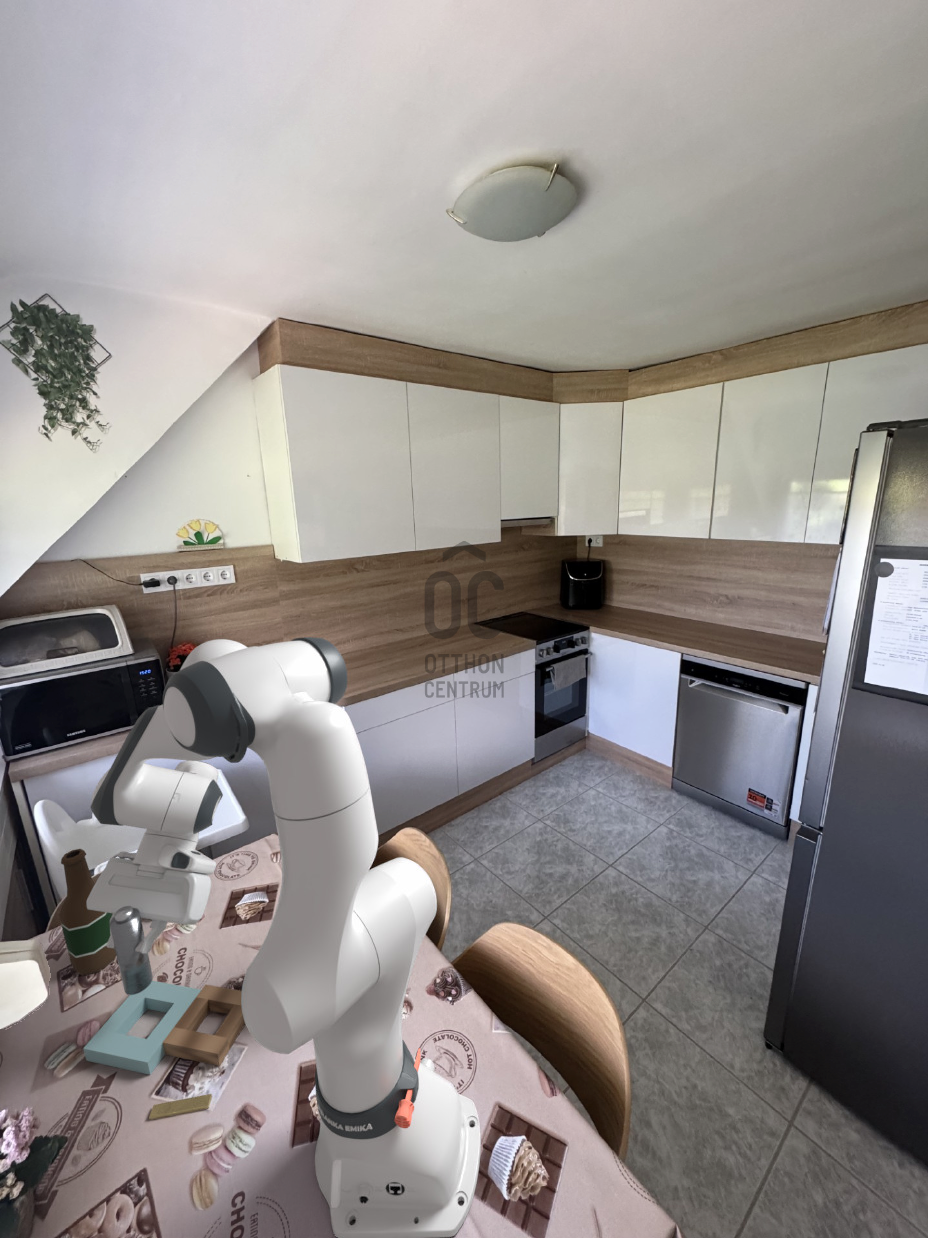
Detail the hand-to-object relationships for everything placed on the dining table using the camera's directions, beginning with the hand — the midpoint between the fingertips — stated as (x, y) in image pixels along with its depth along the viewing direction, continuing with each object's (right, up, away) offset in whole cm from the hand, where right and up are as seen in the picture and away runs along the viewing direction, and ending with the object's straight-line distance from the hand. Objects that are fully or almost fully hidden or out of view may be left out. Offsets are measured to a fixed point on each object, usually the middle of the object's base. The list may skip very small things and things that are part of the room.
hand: (127, 950), depth 80 cm
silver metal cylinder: (0, -7, +2) cm, 7 cm away
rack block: (+1, -16, +4) cm, 17 cm away
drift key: (+13, -19, -7) cm, 24 cm away
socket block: (+12, -16, +4) cm, 20 cm away
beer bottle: (-18, -14, +18) cm, 29 cm away
